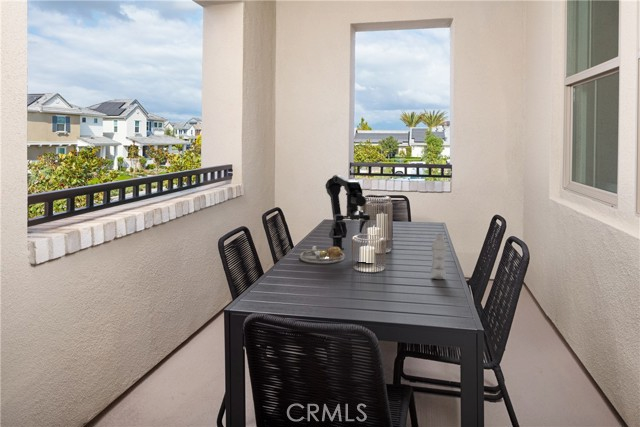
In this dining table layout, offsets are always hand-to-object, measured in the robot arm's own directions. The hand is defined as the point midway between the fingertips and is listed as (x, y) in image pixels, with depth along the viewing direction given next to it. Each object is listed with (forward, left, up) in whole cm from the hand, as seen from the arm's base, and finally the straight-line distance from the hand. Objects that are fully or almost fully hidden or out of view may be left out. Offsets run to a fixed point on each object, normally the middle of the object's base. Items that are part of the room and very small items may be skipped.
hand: (351, 233), depth 259 cm
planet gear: (+5, -10, -11) cm, 16 cm away
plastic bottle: (+52, +27, -12) cm, 60 cm away
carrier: (+5, -17, -12) cm, 21 cm away
